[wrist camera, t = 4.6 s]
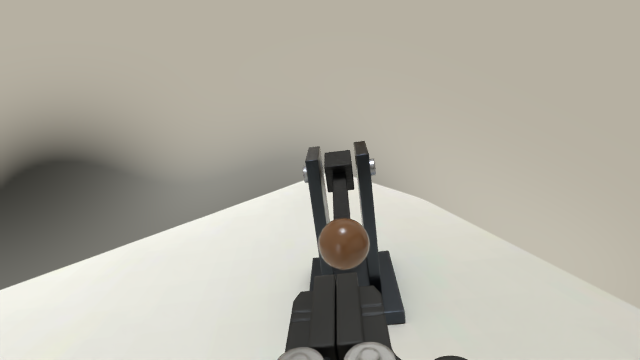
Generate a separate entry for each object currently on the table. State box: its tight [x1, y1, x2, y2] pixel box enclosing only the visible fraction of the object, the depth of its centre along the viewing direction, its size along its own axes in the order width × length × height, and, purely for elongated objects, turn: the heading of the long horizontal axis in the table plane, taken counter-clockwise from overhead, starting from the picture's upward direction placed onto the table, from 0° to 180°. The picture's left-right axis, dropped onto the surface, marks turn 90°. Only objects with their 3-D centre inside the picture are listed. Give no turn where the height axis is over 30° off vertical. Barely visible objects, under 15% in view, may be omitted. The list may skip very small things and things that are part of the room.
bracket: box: [303, 141, 405, 324], centre depth 35 cm, size 10×8×14 cm
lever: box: [318, 150, 370, 270], centre depth 29 cm, size 13×3×3 cm, turn 178°
